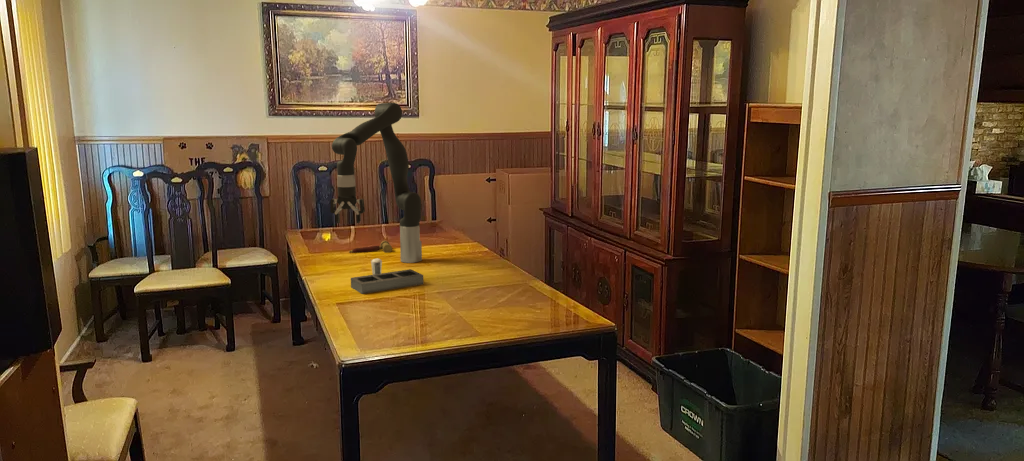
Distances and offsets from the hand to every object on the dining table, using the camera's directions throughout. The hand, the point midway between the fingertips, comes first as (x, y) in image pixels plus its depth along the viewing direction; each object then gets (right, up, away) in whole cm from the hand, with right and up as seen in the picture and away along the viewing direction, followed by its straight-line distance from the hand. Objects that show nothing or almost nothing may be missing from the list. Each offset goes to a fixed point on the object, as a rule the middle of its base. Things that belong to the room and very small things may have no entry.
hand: (348, 222), depth 299 cm
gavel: (-2, -15, +55) cm, 57 cm away
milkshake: (+12, -24, 0) cm, 27 cm away
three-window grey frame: (+19, -26, -10) cm, 34 cm away
